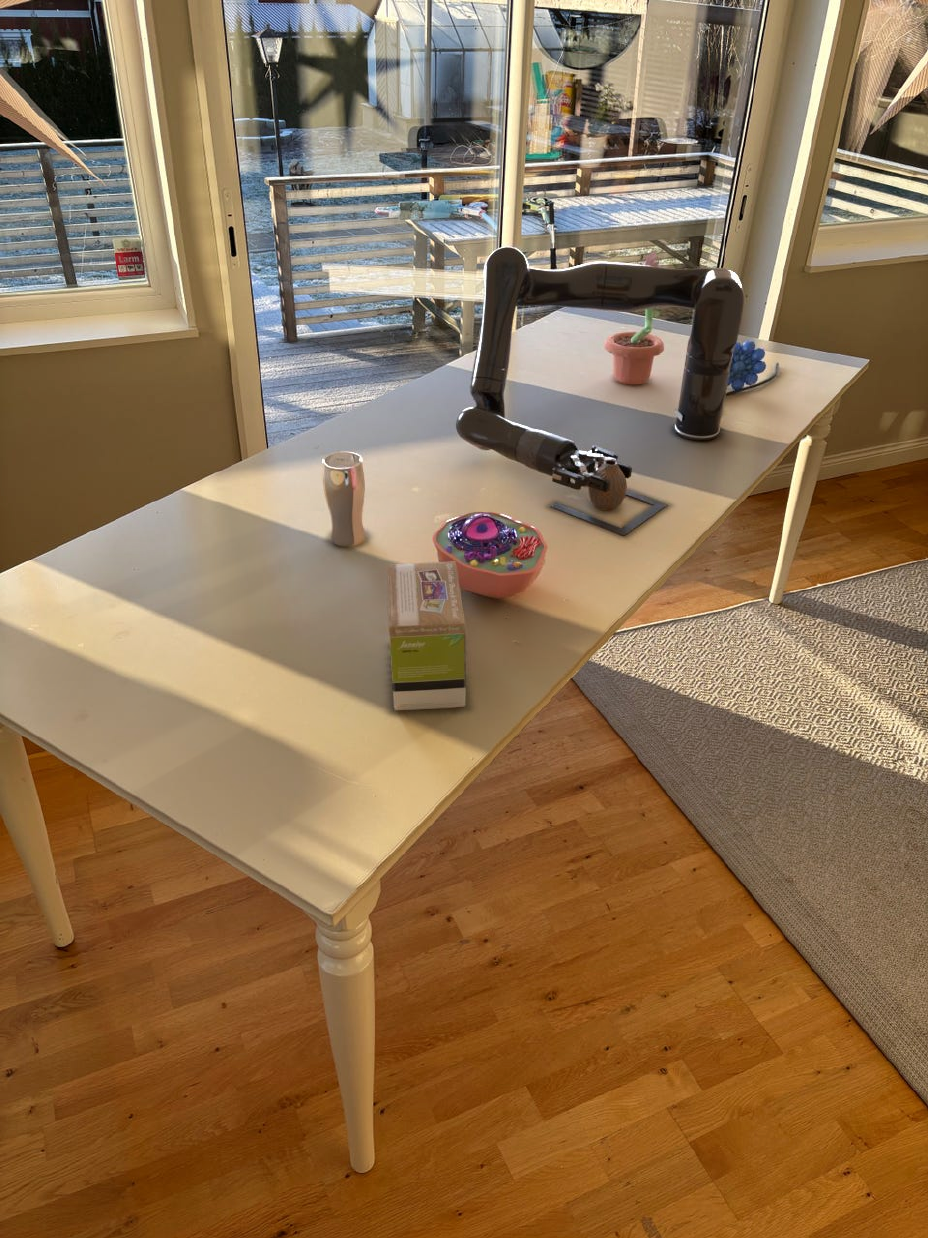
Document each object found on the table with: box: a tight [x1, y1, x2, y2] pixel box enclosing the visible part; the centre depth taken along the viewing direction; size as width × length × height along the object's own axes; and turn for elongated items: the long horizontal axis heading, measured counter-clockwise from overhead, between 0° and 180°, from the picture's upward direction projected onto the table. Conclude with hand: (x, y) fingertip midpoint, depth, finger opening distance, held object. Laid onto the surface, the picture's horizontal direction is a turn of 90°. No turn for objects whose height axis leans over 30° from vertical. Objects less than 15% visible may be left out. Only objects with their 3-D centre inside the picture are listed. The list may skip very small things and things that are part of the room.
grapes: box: [727, 340, 767, 391], centre depth 216 cm, size 12×7×12 cm, turn 65°
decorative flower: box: [604, 249, 665, 385], centre depth 215 cm, size 15×14×30 cm
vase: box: [588, 460, 628, 511], centre depth 170 cm, size 7×7×9 cm
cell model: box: [432, 511, 548, 600], centre depth 147 cm, size 17×20×11 cm
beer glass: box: [322, 451, 366, 548], centre depth 158 cm, size 7×7×15 cm
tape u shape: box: [550, 489, 669, 537], centre depth 172 cm, size 15×16×1 cm
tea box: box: [387, 561, 466, 712], centre depth 127 cm, size 15×10×15 cm, turn 5°
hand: (619, 479), depth 168 cm, fingers closed on vase, 6 cm apart
